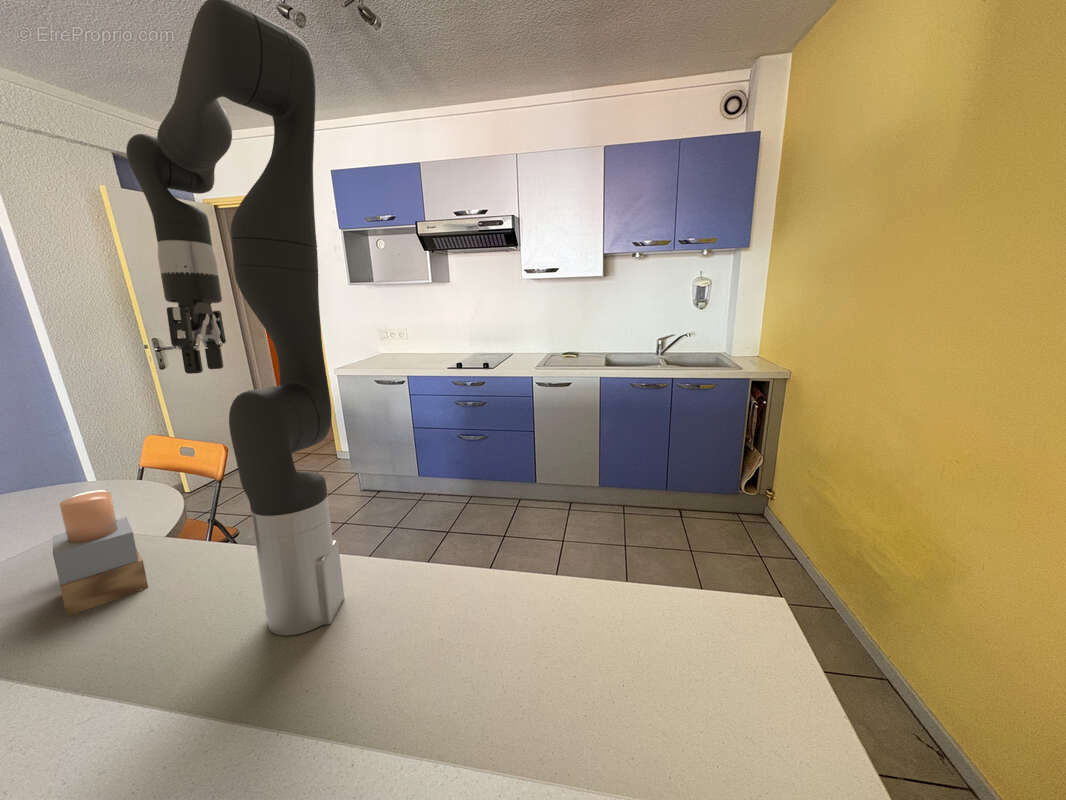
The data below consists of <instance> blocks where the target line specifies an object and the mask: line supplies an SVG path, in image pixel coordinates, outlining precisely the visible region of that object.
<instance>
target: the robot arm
mask: <svg viewBox="0 0 1066 800" xmlns="http://www.w3.org/2000/svg"><path fill="white" fill-rule="evenodd" d="M316 84H317V83H316V73H315V66H314V60H313V56H312V53H311V51H310V48H309V47H308V46H307V44H306V42H304V41H303V39H301V38H300V37H299V36H298V35H296V34H294V33H293V32H291V31H289V30H287V29H286V28H284V27H282V26H280V25H279V24H277V23H276V22H273V21H271V20H269V19H267V18H265V17H264V16H261V14H260V15H259V14H258V13H257V12H255V11H253V10H250V9H248V8H246V7H244V6H242V5H240V4H238V3H236V2H235V1H231V0H205V2H203V4H202V5H201V6H200V8H199V10H198V12H197V13H196V15H195V18H194V21H193V25H192V27H191V32H190V35H189V40H188V43H187V47H186V51H185V56H184V59H183V63H182V67H181V72H180V76H179V81H178V86H177V89H176V90H177V92H176V95H175V99H174V101H173V104H172V105H171V108H170V109H169V110H168V112H167V114H166V115H165V117H164V119H163V121H162V122H161V123H160V125H159V127H158V130H157V134H156V135H151V134H146V133H137V134H134V135H133V136H131V137H130V139H129V140H128V141H127V144H126V158H127V161H128V164H129V166H130V170H131V171H132V173H133V175H134V176H135V179H136V181H137V183H138V184H139V187H140V188H141V191H142V192H143V194H144V195H143V196H145V200H146V202H147V204H148V206H149V209H150V212H151V214H152V220H153V225H154V230H155V236H156V241H157V259H158V265H159V266H158V267H159V272H160V278H161V282H162V289H163V295H164V300H165V301H166V302H168V303H170V304H171V303H172V304H177V306H176V307H175V306H167V308H166V314H167V322H168V329H169V335H170V336H169V337H170V342H171V346H172V347H177V348H178V351H181V355H182V361H183V369H184V372H185V373H186V374H189V375H190V374H191V375H192V374H200V373H202V372H203V370H204V369H203V362H202V357H201V350H200V345H201V342H202V344H203V347H205V348H204V351H205V352H204V353H205V359H206V365H207V368H208V369H209V370H221V369H223V368H224V360H223V355H222V348H223V344H226V341H227V339H226V334H225V328H224V324H223V323H224V322H223V317H222V316H223V315H222V313H221V310H213V308H212V304H219V303H221V302H223V301H222V300H223V297H222V289H221V283H220V278H219V271H218V263H217V258H216V255H215V253H214V248H213V243H212V235H211V230H210V221H209V218H208V214H207V213H206V212H205V211H204V210H202V209H200V208H199V207H197V206H194V205H191V204H189V203H186V202H184V201H181V200H179V199H178V198H176V197H175V196H174V195H173V194H172V193H171V191H170V190H174V191H175V190H176V191H180V192H185V193H191V194H206V193H209V192H211V190H213V188H214V185H215V170H216V166H217V163H218V162H219V161H220V160H221V159H222V158H223V157H224V156H225V155H226V154H227V153H228V151H229V149H230V148H231V145H232V140H233V130H232V125H231V122H230V120H229V117H228V115H227V112H226V111H225V108H224V107H223V105H222V104H221V101H220V99H219V98H226V99H227V100H229V101H231V102H233V103H236V104H238V105H242V106H243V107H246V108H249V109H253V110H255V111H258V112H261V113H262V114H266V115H268V116H271V117H272V120H273V126H274V127H273V134H274V136H273V144H272V150H271V155H270V157H269V160H268V162H267V164H266V166H265V168H264V170H263V171H262V172H261V175H260V176H259V178H258V179H257V180H256V181H255V183H253V185H252V186H251V188H250V189H249V191H248V192H247V193H246V195H245V196H244V197H243V199H242V201H241V202H240V204H239V205H238V207H237V208H236V211H235V213H234V214H233V217H232V220H231V224H230V239H231V250H232V259H233V261H232V262H233V272H234V278H235V282H236V284H237V287H238V289H239V291H240V293H241V294H242V296H243V298H244V300H245V301H246V303H247V305H248V306H249V308H250V309H251V310H252V312H253V313H254V315H255V316H256V318H257V319H258V320H259V322H260V324H261V326H263V328H264V330H265V331H266V332H267V335H268V336H269V337H270V339H271V341H272V344H273V346H274V348H275V352H276V357H277V361H278V362H277V363H278V371H279V385H275V386H267V387H262V388H256V389H251V390H247V391H243V392H242V393H240V394H239V395H237V396H236V397H235V398H234V399H233V400H232V403H231V405H230V408H229V414H228V425H229V432H230V438H231V443H232V447H233V452H234V456H235V457H234V458H235V462H236V466H237V470H238V475H239V480H240V484H241V487H242V489H243V492H244V494H245V495H246V497H247V499H248V502H249V506H250V507H249V509H250V513H251V514H250V515H251V521H252V522H251V523H252V527H253V533H254V535H253V536H254V541H255V550H256V555H257V560H258V568H259V574H260V582H261V589H262V595H263V602H264V608H265V616H266V619H267V627H268V630H269V631H270V632H271V633H274V634H275V635H277V636H278V635H279V636H297V635H299V634H300V635H301V634H304V633H307V632H310V631H312V630H314V629H316V628H318V627H321V626H325V625H330V624H332V623H333V622H334V620H335V619H334V618H335V617H336V615H337V613H338V611H339V609H340V607H341V604H342V603H343V601H344V599H345V590H344V589H345V588H344V583H343V573H342V564H341V556H340V549H339V548H340V547H339V541H338V540H336V539H333V534H332V525H331V516H330V508H329V507H330V506H329V498H328V488H327V482H326V479H325V477H324V476H323V475H322V474H320V473H318V472H314V471H302V470H300V471H299V470H298V471H297V468H296V466H295V463H294V458H293V453H296V452H299V451H302V450H305V449H307V448H308V449H309V448H311V447H313V446H316V445H318V444H320V443H321V442H323V441H324V440H325V438H326V437H327V436H328V434H329V433H330V430H331V426H332V425H331V424H332V403H331V395H330V389H329V381H328V375H327V369H326V363H325V356H324V348H323V340H322V338H323V337H322V327H321V314H320V299H319V260H318V259H319V257H318V249H317V248H318V242H317V233H316V232H317V231H316V218H315V197H314V195H315V194H314V155H315V154H314V151H315V126H316V125H315V123H316V98H317V97H316V95H317V93H316V92H317V89H316Z"/></svg>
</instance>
